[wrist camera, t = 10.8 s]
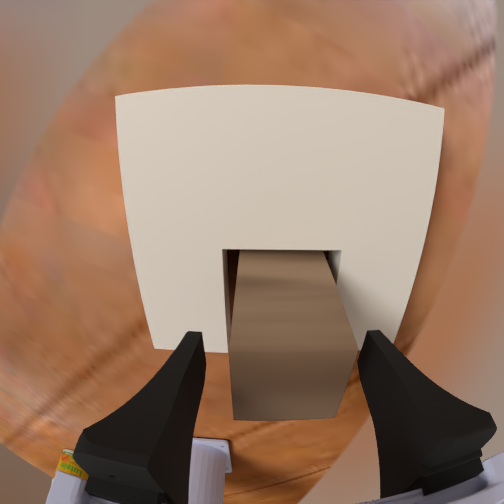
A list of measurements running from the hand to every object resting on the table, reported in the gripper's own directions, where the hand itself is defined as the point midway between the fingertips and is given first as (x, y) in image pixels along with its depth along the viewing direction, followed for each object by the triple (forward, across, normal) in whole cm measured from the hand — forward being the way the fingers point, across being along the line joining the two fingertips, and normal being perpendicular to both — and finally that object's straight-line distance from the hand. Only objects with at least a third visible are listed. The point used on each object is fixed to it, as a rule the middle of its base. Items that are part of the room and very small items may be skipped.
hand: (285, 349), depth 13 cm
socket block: (+7, 0, -3) cm, 7 cm away
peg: (+7, 0, 0) cm, 7 cm away
